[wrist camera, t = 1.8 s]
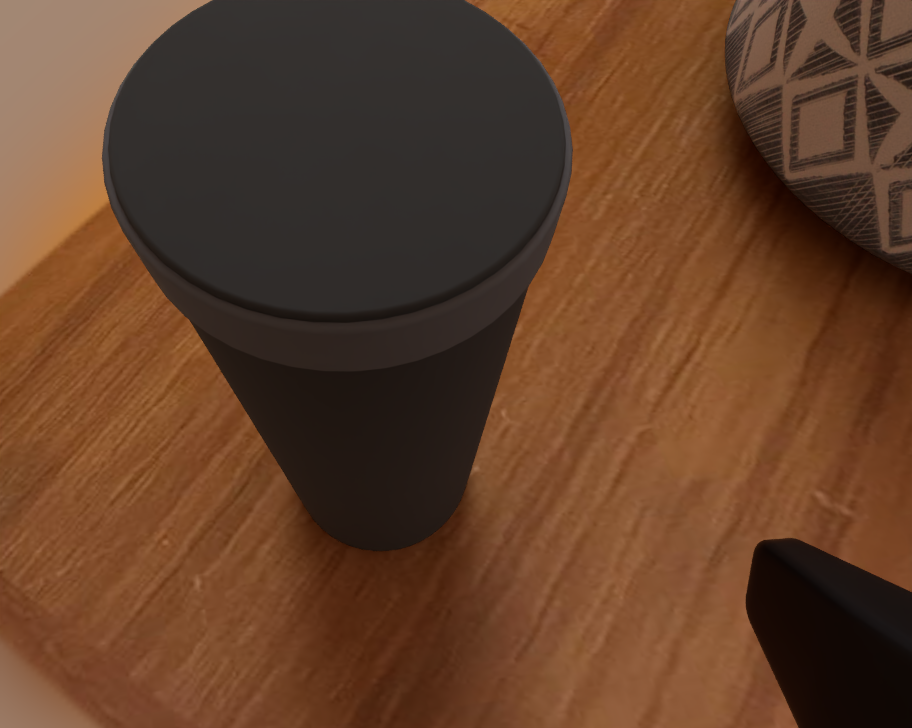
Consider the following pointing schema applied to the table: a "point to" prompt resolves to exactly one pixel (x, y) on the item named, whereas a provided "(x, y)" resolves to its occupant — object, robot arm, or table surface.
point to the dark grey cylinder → (347, 231)
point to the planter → (832, 109)
